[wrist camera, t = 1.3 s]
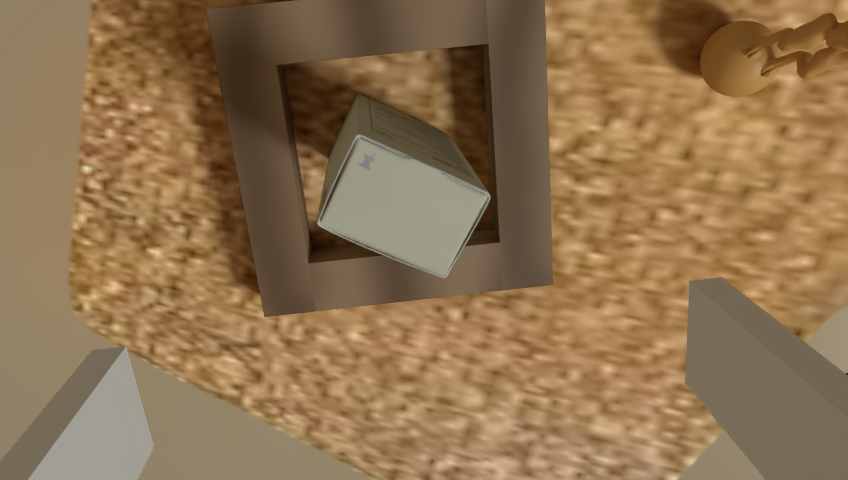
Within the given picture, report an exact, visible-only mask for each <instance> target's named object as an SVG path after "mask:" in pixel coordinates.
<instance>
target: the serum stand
mask: <svg viewBox="0 0 848 480" xmlns="http://www.w3.org/2000/svg"><path fill="white" fill-rule="evenodd" d="M206 13H207V19H208V24H209V29H210V34H211V40H212V45H213V50H214V55H215V60H216V66H217V71H218V76H219V81H220V87H221V92H222V97H223V102H224V108H225V113H226V118H227V123H228V128H229V134H230V139H231V144H232V149H233V155H234V160H235V165H236V170H237V176H238V181H239V186H240V191H241V196H242V202H243V207H244V212H245V217H246V223H247V228H248V233H249V238H250V243H251V249H252V254H253V259H254V264H255V270H256V275H257V280H258V285H259V291H260V296H261V301H262V306H263V311H264V317H269V316H278V315H287V314H296V313H305V312H314V311H322V310H331V309H340V308H349V307H358V306H367V305H376V304H385V303H394V302H403V301H412V300H421V299H430V298H438V297H447V296H456V295H465V294H474V293H483V292H492V291H501V290H510V289H519V288H528V287H537V286H546V285H553V268H552V234H551V199H550V164H549V130H548V95H547V60H546V26H545V0H294V1H284V2H273V3H263V4H253V5H242V6H232V7H222V8H211V9H206ZM472 45H482V58H483V74H484V91H485V108H486V124H487V141H488V157H489V174H490V191H491V207H492V224H493V229H487V230H478V231H473V233H472V234H471V236H470V238H469V240H468V241H467V243H466V245H465V247H464V248H463V250H462V252H461V253H460V255H459V257H458V259H457V260H456V262H455V263H454V265H453V267H452V268H451V270H450V272H449V274H448V276H447V277H446V278H441V277H438V276H436V275H433V274H430V273H427V272H425V271H422V270H420V269H417V268H414V267H411V266H409V265H406V264H404V263H401V262H399V261H396V260H394V259H391V258H389V257H386V256H384V255H381V254H379V253H376V252H374V251H372V250H369V249H367V248H364V247H362V246H360V245H357V244H350V245H340V246H331V247H322V248H313V249H312V243H311V237H310V230H309V224H308V218H307V211H306V205H305V199H304V193H303V186H302V180H301V174H300V167H299V161H298V155H297V148H296V142H295V136H294V129H293V123H292V117H291V110H290V104H289V98H288V91H287V85H286V79H285V73H284V66H283V64H292V63H302V62H312V61H322V60H332V59H342V58H352V57H362V56H372V55H382V54H392V53H402V52H412V51H422V50H432V49H442V48H452V47H462V46H472Z"/></svg>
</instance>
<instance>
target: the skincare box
mask: <svg viewBox="0 0 848 480" xmlns="http://www.w3.org/2000/svg"><path fill="white" fill-rule="evenodd" d="M490 199H491V196H490V194H489V192H488V191H487V189H486V188H485V186H484V185H483V184H482V182H481V181H480V179H479V178H478V176H477V175H476V173H475V172H474V170H473V169H472V167H471V166H470V164H469V163H468V162H467V160H466V159H465V157H464V156H463V154H462V153H461V151H460V150H459V148H458V147H457V145H456V144H455V142H454V141H453V139H452V138H451V137H450V136H448V135H446V134H444V133H442V132H440V131H439V130H437V129H435V128H433V127H431V126H429V125H427V124H425V123H422V122H420V121H418V120H416V119H414V118H412V117H410V116H408V115H406V114H403V113H401V112H399V111H397V110H395V109H393V108H391V107H388V106H386V105H384V104H382V103H379V102H377V101H375V100H372V99H370V98H368V97H365V96H363V95H360V94H358V95H357V96H356V98H355V100H354V102H353V104H352V106H351V108H350V110H349V112H348V114H347V117H346V119H345V121H344V123H343V125H342V127H341V129H340V132H339V134H338V136H337V138H336V141H335V143H334V146H333V148H332V151H331V153H330V156H329V160H328V165H327V170H326V175H325V180H324V185H323V190H322V196H321V201H320V207H319V213H318V219H317V224H318V226H320V227H321V228H323V229H325V230H327V231H329V232H331V233H333V234H336V235H338V236H340V237H342V238H344V239H346V240H348V241H351V242H353V243H355V244H357V245H360V246H362V247H364V248H367V249H369V250H372V251H374V252H376V253H379V254H381V255H384V256H386V257H389V258H391V259H394V260H396V261H399V262H401V263H404V264H406V265H409V266H411V267H414V268H417V269H420V270H422V271H425V272H427V273H430V274H433V275H436V276H438V277H441V278H446V277H447V276H448V274H449V272H450V270H451V268H452V267H453V265H454V263H455V262H456V260H457V259H458V257H459V255H460V253H461V252H462V250H463V248H464V247H465V245H466V243H467V241H468V240H469V238H470V236H471V234H472V233H473V231H474V229H475V227H476V226H477V224H478V222H479V220H480V218H481V216H482V215H483V213H484V211H485V209H486V207H487V205H488V203H489V201H490Z"/></svg>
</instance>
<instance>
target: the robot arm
mask: <svg viewBox="0 0 848 480" xmlns="http://www.w3.org/2000/svg"><path fill="white" fill-rule="evenodd" d="M685 383H686V384H687V385H688V387H689V388H690V389H691V390H692V391H693V393H694V394H695V395H696V396H697V398H698V399H699V400H700V401H701V402H702V404H703V405H704V406H705V407H706V408H707V410H708V411H709V412H710V413H711V414H712V416H713V417H714V418H715V419H716V421H717V422H718V423H719V424H720V425H721V427H722V428H723V429H724V430H725V431H726V433H727V434H728V435H729V436H730V437H731V439H732V440H733V441H734V442H735V443H736V445H737V446H738V447H739V448H740V450H741V451H742V452H743V453H744V454H745V456H746V457H747V458H748V459H749V460H750V461H751V463H752V464H753V465H754V466H755V467H756V469H757V470H758V471H759V473H760V474H761V475H762V476H763V477H764V479H765V480H848V373H844V372H843V371H841V370H840V369H839V368H837V367H836V366H835V365H833V364H832V363H831V362H830V361H828V360H827V359H826V358H824V357H823V356H822V355H821V354H819V353H818V352H817V351H816V350H814V349H813V348H812V347H810V346H809V345H808V344H807V343H805V342H804V341H803V340H801V339H800V338H799V337H798V336H796V335H795V334H794V333H792V332H791V331H790V330H789V329H787V328H786V327H785V326H783V325H782V324H781V323H780V322H778V321H777V320H776V319H774V318H773V317H772V316H771V315H769V314H768V313H767V312H765V311H764V310H763V309H762V308H760V307H759V306H758V305H756V304H755V303H754V302H753V301H751V300H750V299H749V298H747V297H746V296H745V295H744V294H742V293H741V292H740V291H738V290H737V289H736V288H735V287H733V286H732V285H731V284H729V283H728V282H727V281H726V280H724V279H723V278H722V277H720V278H711V279H703V280H694V281H690V283H689V307H688V330H687V353H686V376H685ZM153 448H154V446H153V443H152V440H151V436H150V432H149V428H148V425H147V421H146V417H145V414H144V410H143V407H142V403H141V400H140V395H139V392H138V388H137V385H136V381H135V378H134V374H133V370H132V367H131V363H130V360H129V356H128V352H127V348H126V347H117V348H109V349H100V350H92V351H91V352H90V354H89V355H88V356H87V357H86V358H85V360H84V361H83V362H82V363H81V364H80V366H79V367H78V368H77V369H76V371H75V372H74V373H73V374H72V375H71V377H70V378H69V379H68V380H67V381H66V383H65V384H64V385H63V386H62V388H61V389H60V390H59V391H58V392H57V393H56V395H55V396H54V397H53V398H52V400H51V401H50V402H49V403H48V404H47V406H46V407H45V408H44V409H43V411H42V412H41V413H40V414H39V415H38V416H37V418H36V419H35V420H34V421H33V423H32V424H31V425H30V426H29V427H28V429H27V430H26V431H25V432H24V433H23V435H22V436H21V437H20V438H19V439H18V441H17V442H16V443H15V444H14V445H13V447H12V448H11V449H10V450H9V452H8V453H7V454H6V455H5V456H4V458H3V459H2V460H1V461H0V480H137V479H138V477H139V476H140V474H141V471H142V470H143V467H144V466H145V464H146V462H147V460H148V458H149V456H150V454H151V452H152V450H153Z"/></svg>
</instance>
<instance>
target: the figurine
mask: <svg viewBox="0 0 848 480" xmlns="http://www.w3.org/2000/svg"><path fill="white" fill-rule="evenodd" d="M825 39H826V44H827V45H828V46H829V47H828V48H825V49H821V50H819V51H817V52H816V53H815V54H814V55H812V54H811V53H809V52H803V51H797V52H794V53H791V54H788V55H785V56H782V57H781V50H783V51H792V50H795V49H811V48H813V47H815V46H817V45H818V44H820V43H821V42H822V41H823V40H825ZM795 61H797V73H798V75H799V76H800V77H802V78H804V79H810V78H812V77H813V76H815V75H816V74H819V73H822V72H825V71H827V70H829V69H831V68H834V67H836V66H838V65H844V64H848V21H846V22H844V23H838V22H837V19H836V17H835V15H834V14H831V13H827V14H824V15H821V16H820V17H818V18H817V19H816V20H814V21H812V22H810V23H807V24H804V25H802V26H800V27H798V28H796V29H794V30H793V29H792V28H786V29H784V30H782V31H779V32H776V33H773V32H772V31H771V30H770V29H768V28H767V27H766V26H764V25H762V24H760V23H757V22H753V21H737V22H733V23H730V24H727V25H725V26H723V27H721V28H720V29H718V30H717V31H716V32H715V33H713V34H712V35H711V36H710V38H709V39H708V40H707V42H706V43H705V45H704V47H703V50H702V52H701V57H700V69H701V73H702V76H703V78H704V80H705V82H706V83H707V84H708V85H709V86H710V87H711V88H712V89H713V90H715V91H716V92H718V93H720V94H723V95H726V96H731V97H741V96H746V95H750V94H753V93H755V92H757V91H759V90H760V89H762V88H763V87H765V86H766V85H767V84H768V83H769V82H770V81H771V80H772V79H773V77H774V76H775V74H776V72H777V70H778V69H779V68H781V67H783V66H785V65H788V64H790V63H793V62H795Z"/></svg>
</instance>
